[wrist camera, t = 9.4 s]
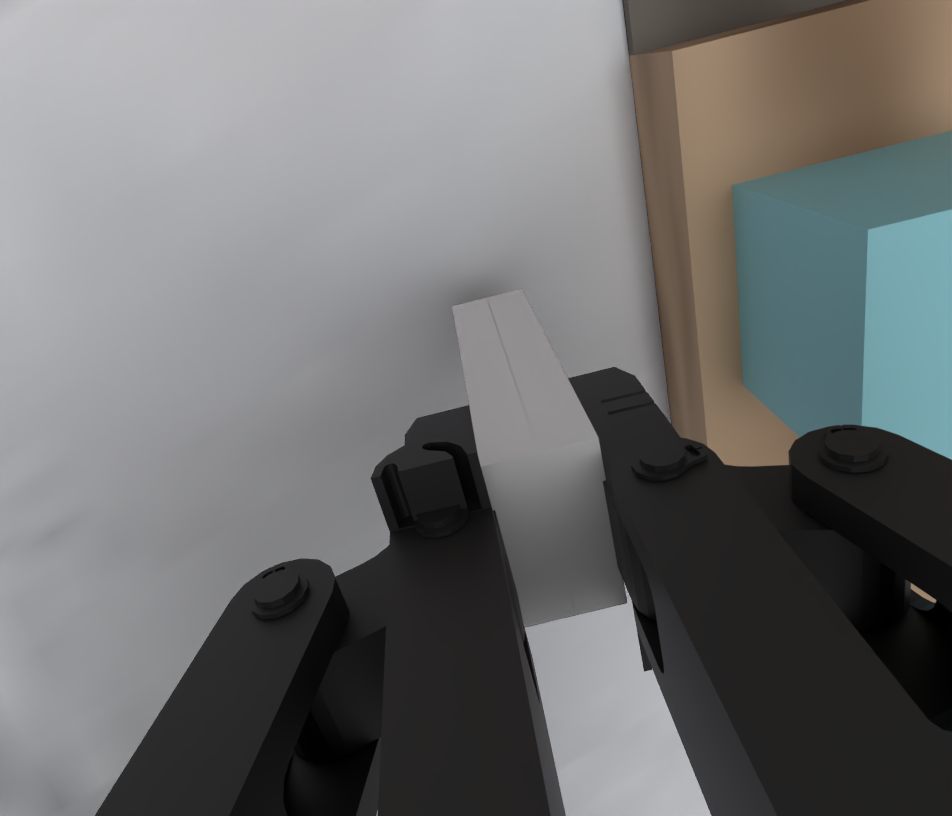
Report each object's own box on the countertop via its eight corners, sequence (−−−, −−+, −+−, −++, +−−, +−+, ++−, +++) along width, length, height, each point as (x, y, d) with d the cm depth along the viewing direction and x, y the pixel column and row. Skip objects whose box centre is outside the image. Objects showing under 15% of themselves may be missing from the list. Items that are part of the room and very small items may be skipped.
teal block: (743, 385, 17) (859, 492, 13) (732, 184, 15) (868, 229, 11) (937, 338, 17) (1122, 429, 13) (955, 129, 15) (1186, 152, 11)
